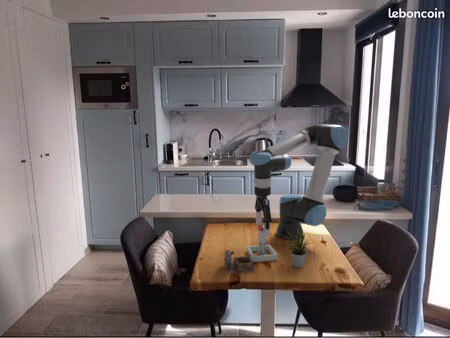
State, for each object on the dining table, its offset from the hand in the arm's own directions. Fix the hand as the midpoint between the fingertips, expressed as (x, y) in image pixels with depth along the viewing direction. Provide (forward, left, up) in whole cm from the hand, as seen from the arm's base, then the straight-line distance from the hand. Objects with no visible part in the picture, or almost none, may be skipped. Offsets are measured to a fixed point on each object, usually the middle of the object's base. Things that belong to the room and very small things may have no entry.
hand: (262, 229), depth 160 cm
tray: (0, 0, -14) cm, 14 cm away
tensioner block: (+13, +10, -14) cm, 22 cm away
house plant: (-14, +8, -15) cm, 22 cm away
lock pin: (0, 0, -13) cm, 13 cm away
